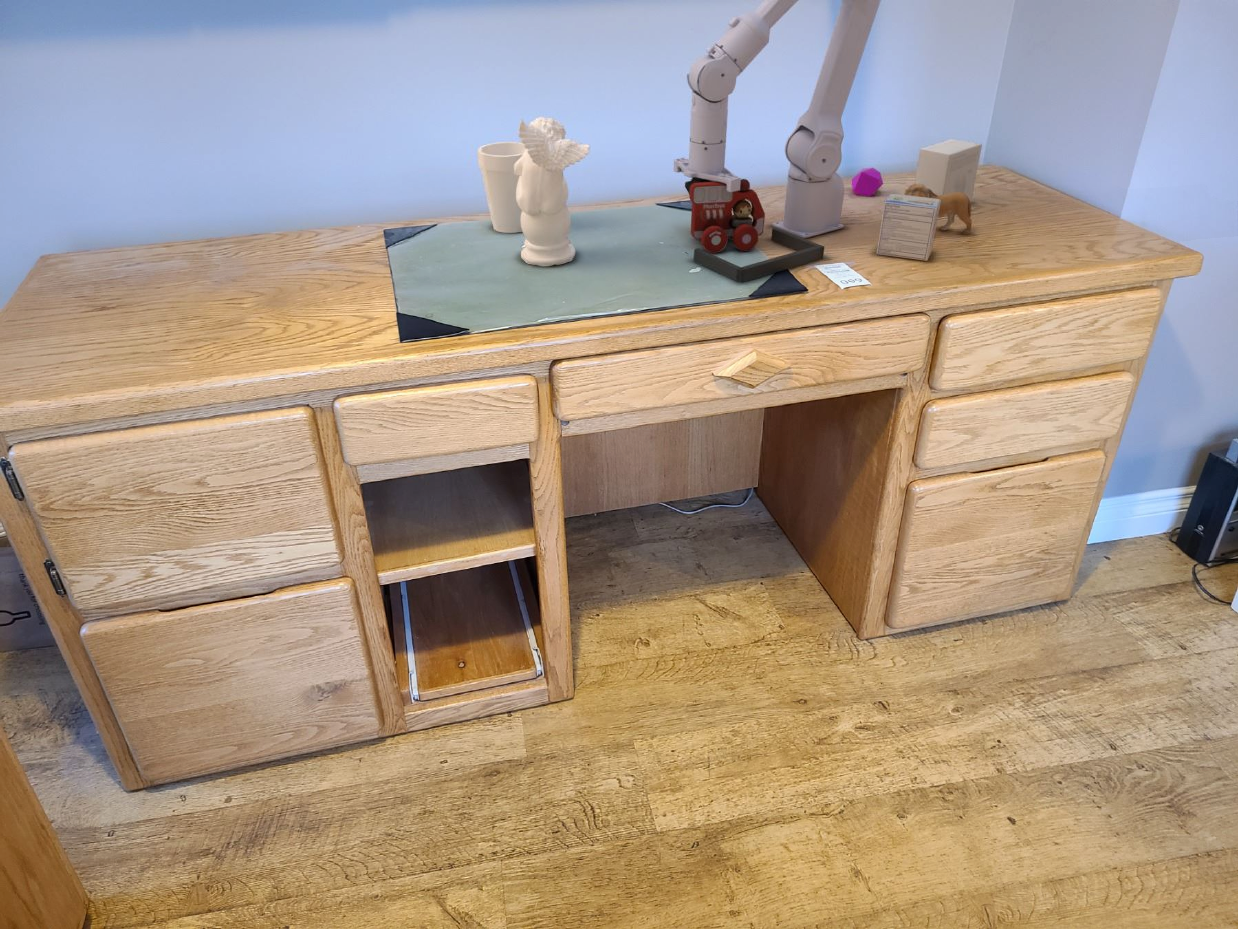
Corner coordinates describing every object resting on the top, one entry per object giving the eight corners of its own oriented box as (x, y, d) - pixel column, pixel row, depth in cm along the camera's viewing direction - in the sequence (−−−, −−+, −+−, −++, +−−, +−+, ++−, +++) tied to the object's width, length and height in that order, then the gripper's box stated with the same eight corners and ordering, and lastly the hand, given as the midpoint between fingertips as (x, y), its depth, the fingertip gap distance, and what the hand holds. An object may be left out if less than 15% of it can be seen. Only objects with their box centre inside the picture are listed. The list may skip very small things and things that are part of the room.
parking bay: (774, 239, 148) (775, 227, 146) (823, 258, 140) (824, 246, 139) (693, 261, 139) (693, 248, 138) (740, 283, 132) (741, 270, 131)
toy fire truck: (768, 250, 143) (774, 184, 138) (693, 255, 142) (696, 189, 136) (755, 235, 149) (760, 172, 143) (683, 240, 147) (685, 176, 142)
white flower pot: (550, 223, 155) (546, 146, 147) (517, 239, 148) (511, 159, 141) (506, 214, 159) (501, 139, 152) (473, 229, 152) (465, 151, 145)
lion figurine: (909, 245, 145) (919, 189, 140) (888, 235, 149) (897, 180, 144) (980, 233, 150) (992, 178, 145) (958, 223, 154) (969, 170, 149)
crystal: (883, 196, 167) (887, 171, 164) (854, 197, 166) (858, 172, 164) (874, 188, 171) (878, 163, 169) (846, 189, 171) (850, 164, 168)
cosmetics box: (940, 195, 167) (951, 137, 161) (971, 202, 163) (984, 143, 157) (908, 206, 161) (918, 147, 156) (940, 215, 157) (952, 154, 152)
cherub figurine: (542, 241, 147) (534, 100, 135) (609, 253, 142) (607, 107, 130) (502, 266, 138) (490, 117, 126) (573, 279, 133) (567, 125, 121)
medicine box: (931, 253, 142) (942, 198, 137) (927, 262, 138) (937, 206, 134) (881, 246, 145) (890, 192, 140) (875, 255, 141) (884, 200, 136)
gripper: (659, 134, 143) (657, 217, 151) (718, 153, 133) (712, 241, 141) (694, 128, 147) (690, 210, 154) (753, 146, 137) (746, 233, 144)
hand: (703, 224), depth 148 cm, fingers closed
